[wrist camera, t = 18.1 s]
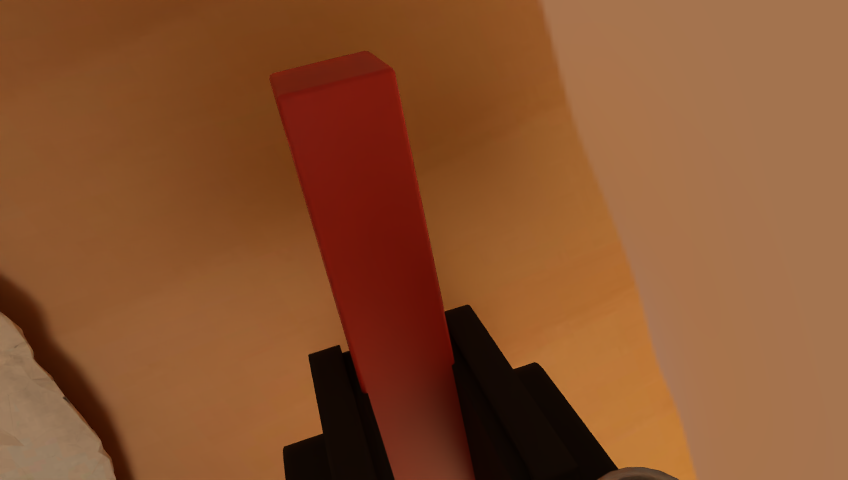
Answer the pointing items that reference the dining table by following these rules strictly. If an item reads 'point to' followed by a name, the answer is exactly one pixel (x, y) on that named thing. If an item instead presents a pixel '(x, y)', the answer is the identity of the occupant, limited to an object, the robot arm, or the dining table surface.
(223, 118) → the dining table surface
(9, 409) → the stone
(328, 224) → the red spoon
